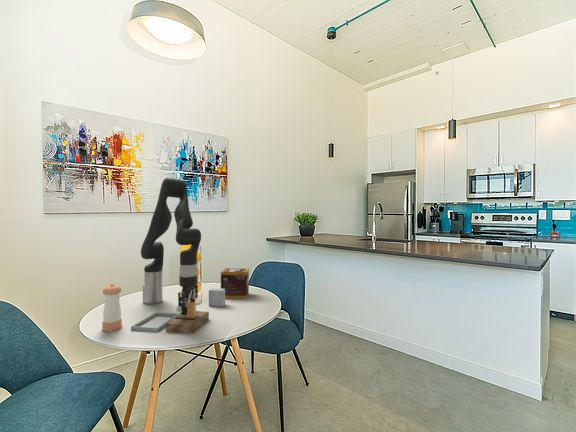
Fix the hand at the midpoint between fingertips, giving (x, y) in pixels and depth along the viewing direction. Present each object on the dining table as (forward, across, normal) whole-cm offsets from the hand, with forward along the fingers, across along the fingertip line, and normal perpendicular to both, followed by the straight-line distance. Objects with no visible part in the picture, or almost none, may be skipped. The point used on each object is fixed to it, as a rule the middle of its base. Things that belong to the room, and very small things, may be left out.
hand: (188, 311), depth 131 cm
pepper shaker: (+7, +6, -32) cm, 33 cm away
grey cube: (+7, -31, +1) cm, 32 cm away
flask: (+7, -19, -12) cm, 24 cm away
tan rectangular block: (+6, 0, 0) cm, 6 cm away
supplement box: (+7, -50, +5) cm, 51 cm away
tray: (+7, 0, -15) cm, 16 cm away
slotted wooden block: (+7, 0, 0) cm, 7 cm away
